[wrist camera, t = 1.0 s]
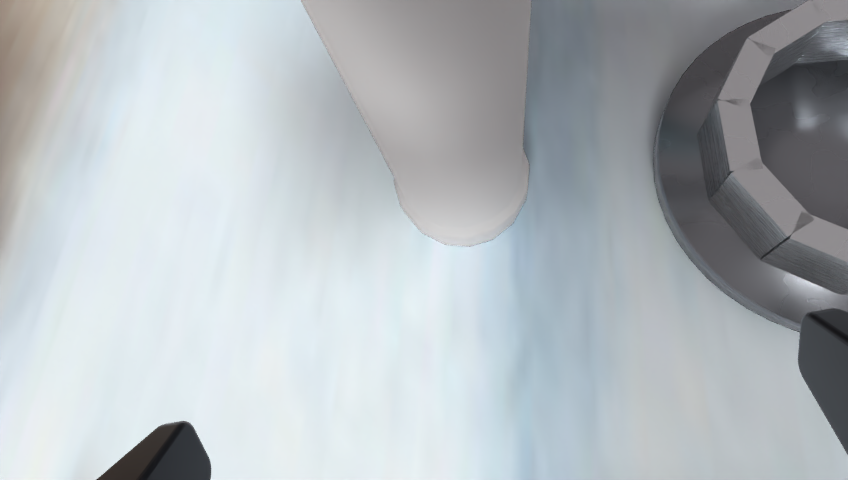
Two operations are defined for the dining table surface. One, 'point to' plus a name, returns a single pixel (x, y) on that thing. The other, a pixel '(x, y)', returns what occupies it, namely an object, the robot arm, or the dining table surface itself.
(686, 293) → the dining table surface
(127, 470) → the robot arm
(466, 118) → the bottle
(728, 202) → the grey ring
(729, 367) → the dining table surface
